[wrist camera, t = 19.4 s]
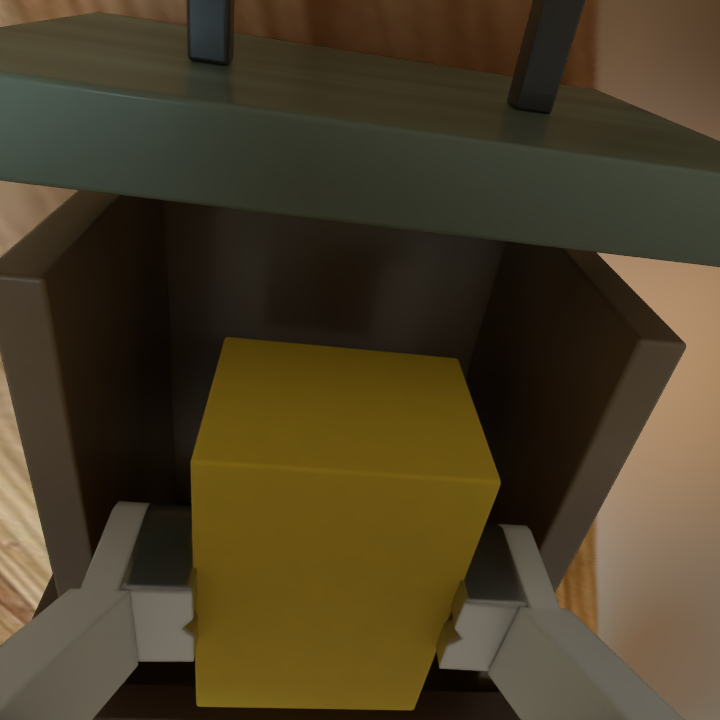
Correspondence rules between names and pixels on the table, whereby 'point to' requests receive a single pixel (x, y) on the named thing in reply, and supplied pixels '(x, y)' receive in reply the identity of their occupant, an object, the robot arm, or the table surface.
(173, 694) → the cabinet
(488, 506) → the sponge
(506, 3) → the table surface
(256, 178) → the drawer
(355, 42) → the table surface
